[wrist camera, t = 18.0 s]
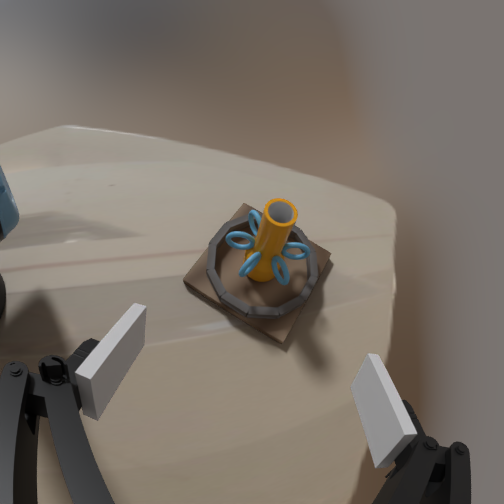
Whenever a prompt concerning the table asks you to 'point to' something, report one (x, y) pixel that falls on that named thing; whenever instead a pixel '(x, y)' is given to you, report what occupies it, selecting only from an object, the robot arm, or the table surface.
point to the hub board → (253, 292)
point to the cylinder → (269, 242)
